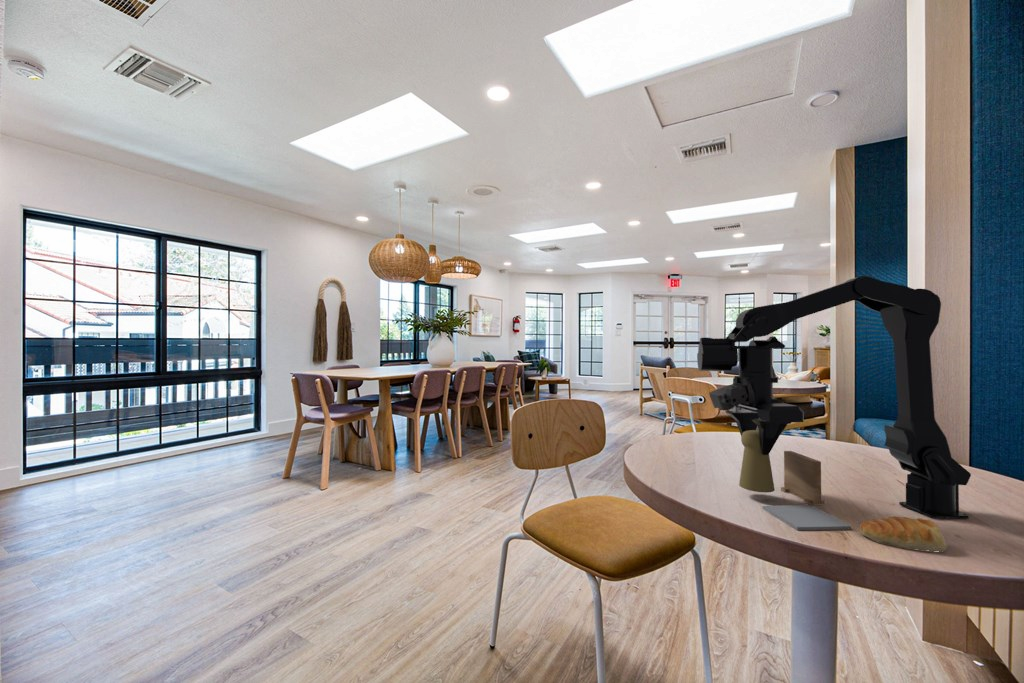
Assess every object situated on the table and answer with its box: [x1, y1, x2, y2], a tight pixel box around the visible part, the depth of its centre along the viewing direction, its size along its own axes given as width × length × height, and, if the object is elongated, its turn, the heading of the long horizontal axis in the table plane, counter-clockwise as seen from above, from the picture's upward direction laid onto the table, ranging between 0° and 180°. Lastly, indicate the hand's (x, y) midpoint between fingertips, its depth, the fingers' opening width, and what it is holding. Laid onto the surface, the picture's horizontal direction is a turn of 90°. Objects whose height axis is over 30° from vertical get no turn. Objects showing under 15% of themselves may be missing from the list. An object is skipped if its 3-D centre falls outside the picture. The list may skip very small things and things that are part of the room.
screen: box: [780, 450, 826, 506], centre depth 82 cm, size 3×8×8 cm, turn 2°
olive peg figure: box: [738, 429, 776, 494], centre depth 82 cm, size 6×6×11 cm
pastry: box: [859, 515, 948, 553], centre depth 64 cm, size 9×7×4 cm
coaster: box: [761, 504, 853, 531], centre depth 72 cm, size 9×9×1 cm
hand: (756, 451), depth 82 cm, fingers closed on olive peg figure, 5 cm apart
